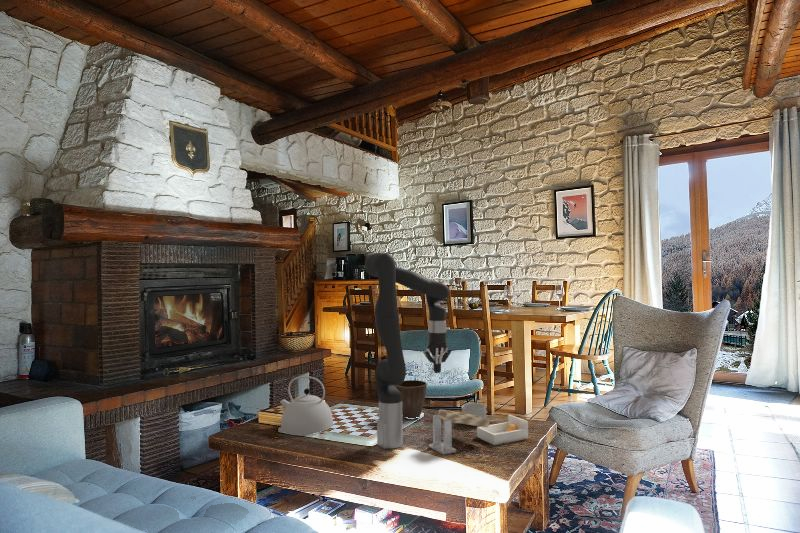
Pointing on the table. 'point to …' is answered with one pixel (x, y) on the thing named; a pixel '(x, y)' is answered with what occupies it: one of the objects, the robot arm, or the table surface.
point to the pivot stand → (447, 436)
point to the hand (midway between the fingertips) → (437, 372)
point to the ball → (511, 427)
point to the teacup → (474, 409)
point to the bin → (504, 431)
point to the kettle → (305, 413)
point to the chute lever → (463, 418)
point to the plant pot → (412, 397)
